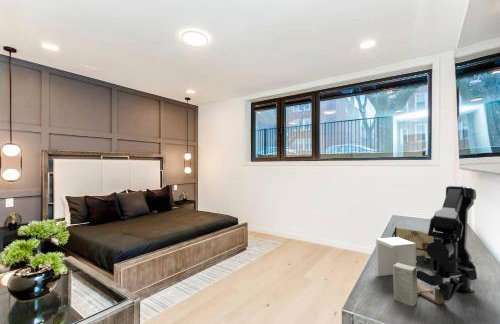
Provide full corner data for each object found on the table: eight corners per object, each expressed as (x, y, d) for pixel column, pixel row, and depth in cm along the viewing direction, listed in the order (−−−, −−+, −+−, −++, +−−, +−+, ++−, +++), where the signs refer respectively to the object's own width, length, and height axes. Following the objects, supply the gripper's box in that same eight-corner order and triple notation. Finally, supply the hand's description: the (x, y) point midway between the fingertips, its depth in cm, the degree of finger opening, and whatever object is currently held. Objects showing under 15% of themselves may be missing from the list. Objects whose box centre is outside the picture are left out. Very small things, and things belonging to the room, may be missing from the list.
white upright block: (398, 272, 108) (397, 236, 108) (416, 282, 99) (415, 243, 99) (376, 275, 105) (376, 238, 105) (393, 285, 96) (392, 245, 97)
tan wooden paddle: (413, 282, 98) (413, 269, 98) (451, 302, 84) (451, 287, 84) (397, 285, 96) (397, 271, 96) (432, 306, 82) (432, 290, 82)
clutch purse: (389, 257, 125) (388, 228, 125) (394, 254, 130) (393, 225, 130) (466, 277, 103) (465, 241, 103) (468, 272, 108) (468, 238, 108)
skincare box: (417, 302, 85) (417, 267, 85) (412, 307, 82) (412, 270, 82) (397, 295, 90) (397, 261, 90) (392, 299, 87) (392, 264, 87)
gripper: (443, 243, 92) (444, 285, 92) (402, 247, 87) (403, 291, 87) (477, 254, 81) (478, 301, 81) (432, 259, 77) (433, 309, 76)
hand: (446, 300), depth 82 cm, fingers closed
